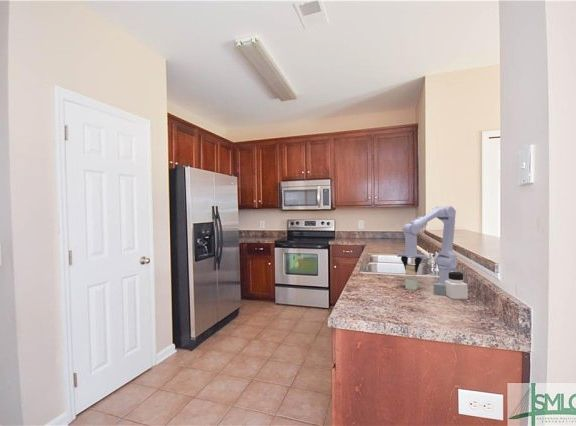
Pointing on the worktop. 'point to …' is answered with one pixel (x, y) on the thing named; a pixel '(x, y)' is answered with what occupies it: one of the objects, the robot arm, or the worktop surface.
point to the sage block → (411, 283)
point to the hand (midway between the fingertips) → (411, 271)
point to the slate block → (439, 289)
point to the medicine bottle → (456, 286)
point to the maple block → (410, 269)
